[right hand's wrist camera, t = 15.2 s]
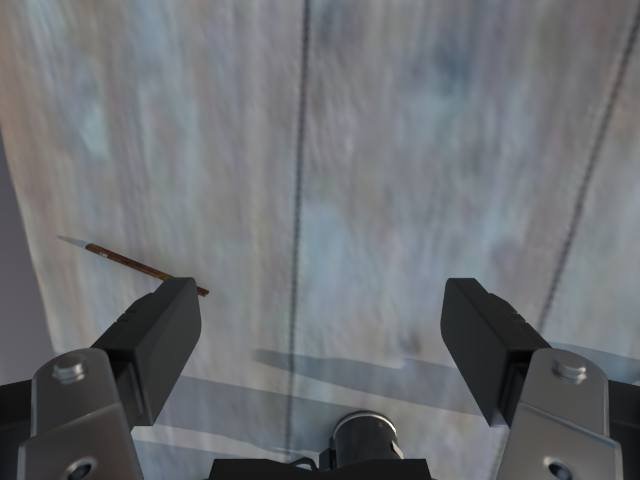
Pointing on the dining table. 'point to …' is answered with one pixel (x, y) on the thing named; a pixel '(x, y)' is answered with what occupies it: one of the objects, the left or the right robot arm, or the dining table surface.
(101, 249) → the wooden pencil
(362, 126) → the dining table surface
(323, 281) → the dining table surface
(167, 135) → the dining table surface
